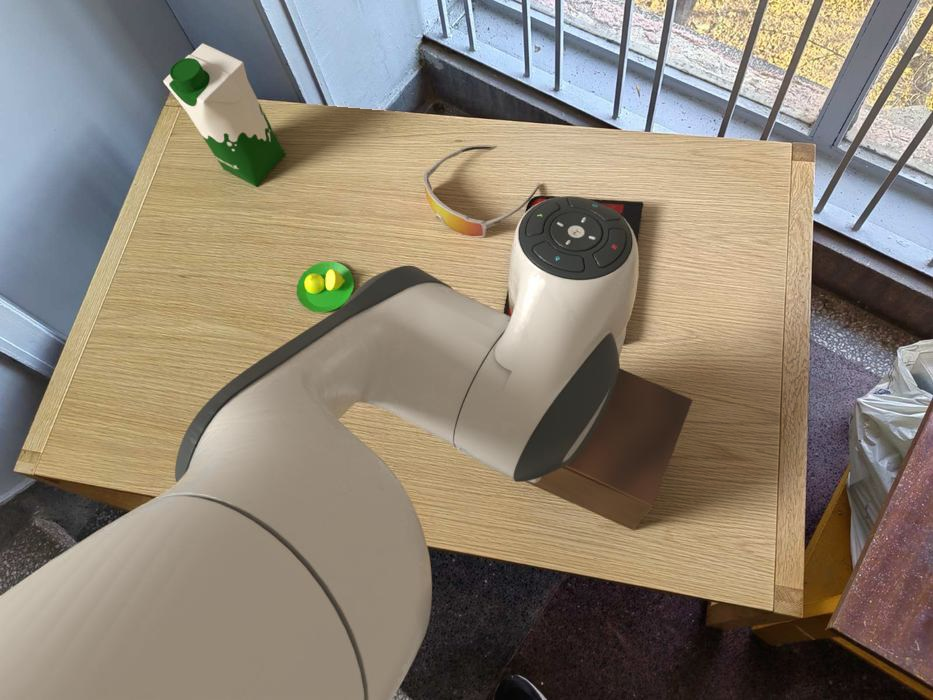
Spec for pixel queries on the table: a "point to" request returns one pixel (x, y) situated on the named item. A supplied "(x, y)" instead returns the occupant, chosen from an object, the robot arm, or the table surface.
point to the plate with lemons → (325, 286)
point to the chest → (594, 497)
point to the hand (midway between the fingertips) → (561, 400)
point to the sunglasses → (455, 219)
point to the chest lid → (634, 438)
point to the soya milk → (226, 112)
